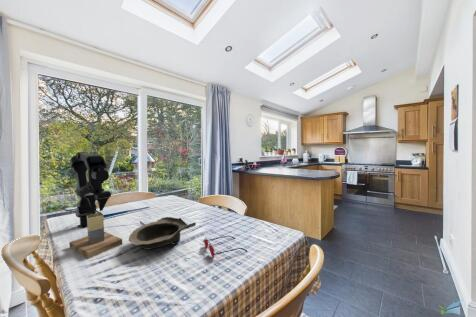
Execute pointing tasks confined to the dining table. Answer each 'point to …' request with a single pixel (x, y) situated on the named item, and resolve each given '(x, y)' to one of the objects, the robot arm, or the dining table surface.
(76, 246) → the walnut stand
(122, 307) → the dining table surface
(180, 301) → the dining table surface
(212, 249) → the glasses
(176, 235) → the stone bowl
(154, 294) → the dining table surface
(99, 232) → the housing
